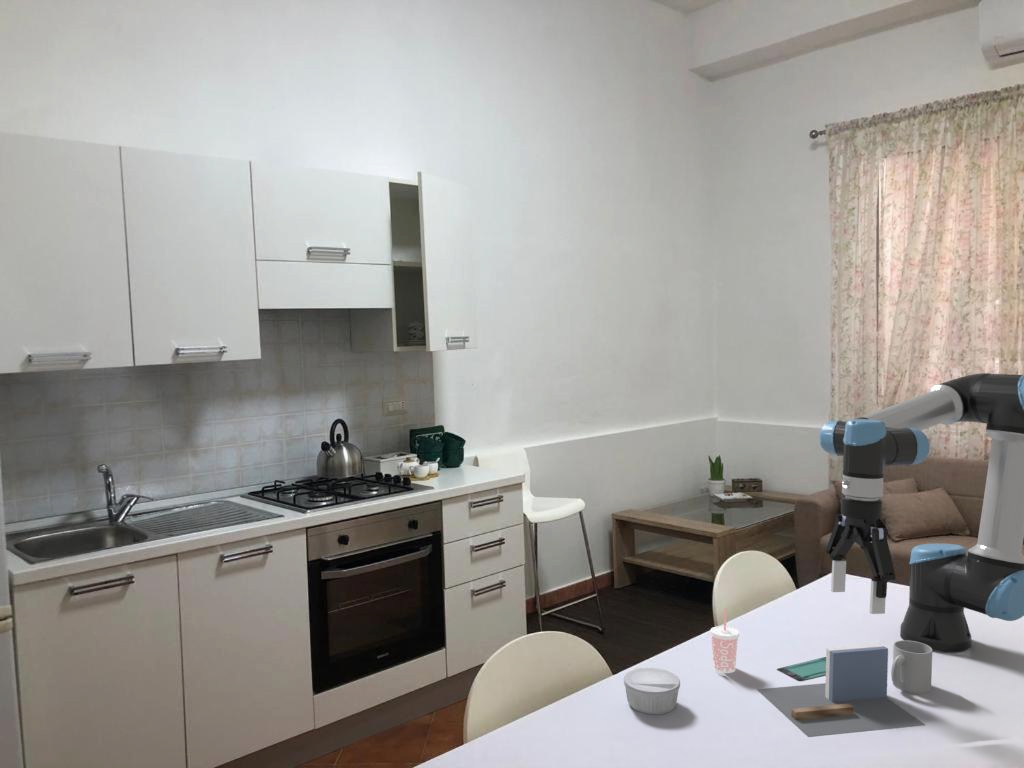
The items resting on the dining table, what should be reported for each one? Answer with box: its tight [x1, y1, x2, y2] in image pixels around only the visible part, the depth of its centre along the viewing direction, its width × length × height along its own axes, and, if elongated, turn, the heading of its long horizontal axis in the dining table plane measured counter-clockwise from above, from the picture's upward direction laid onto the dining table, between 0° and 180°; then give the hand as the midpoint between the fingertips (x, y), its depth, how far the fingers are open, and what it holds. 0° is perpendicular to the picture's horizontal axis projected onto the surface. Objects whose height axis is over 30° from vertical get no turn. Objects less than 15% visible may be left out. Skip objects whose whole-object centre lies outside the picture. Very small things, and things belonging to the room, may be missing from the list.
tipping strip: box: [791, 704, 853, 720], centre depth 157 cm, size 12×2×2 cm, turn 100°
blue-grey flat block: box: [825, 643, 889, 702], centre depth 165 cm, size 12×2×10 cm, turn 100°
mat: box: [756, 682, 927, 738], centre depth 161 cm, size 24×20×1 cm
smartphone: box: [776, 656, 826, 682], centre depth 179 cm, size 7×1×15 cm
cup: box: [890, 639, 933, 695], centre depth 169 cm, size 7×10×9 cm
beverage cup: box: [710, 607, 740, 676], centre depth 179 cm, size 6×6×14 cm
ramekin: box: [623, 667, 681, 715], centre depth 164 cm, size 11×11×5 cm
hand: (856, 602), depth 165 cm, fingers open, 13 cm apart
